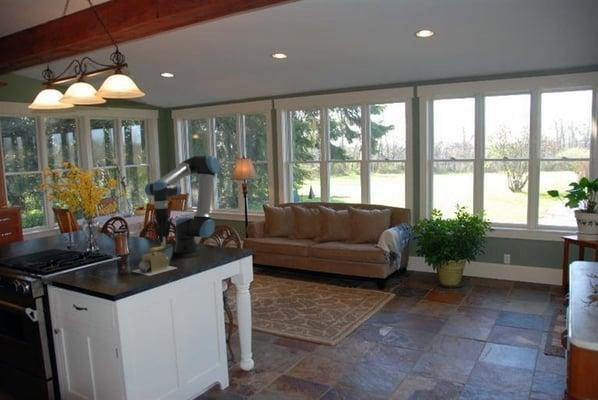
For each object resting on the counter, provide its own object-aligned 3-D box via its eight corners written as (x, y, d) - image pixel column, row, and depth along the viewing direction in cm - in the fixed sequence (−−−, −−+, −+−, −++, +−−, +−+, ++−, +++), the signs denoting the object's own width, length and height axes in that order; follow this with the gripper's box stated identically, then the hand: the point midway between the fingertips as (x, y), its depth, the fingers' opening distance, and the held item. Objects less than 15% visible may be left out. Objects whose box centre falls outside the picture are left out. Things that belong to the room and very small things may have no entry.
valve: (136, 272, 269) (134, 253, 268) (163, 265, 283) (162, 247, 282) (145, 274, 263) (143, 255, 262) (172, 267, 277) (171, 249, 276)
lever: (168, 246, 282) (168, 244, 282) (173, 247, 280) (173, 244, 279) (147, 251, 271) (147, 248, 271) (152, 251, 269) (152, 249, 269)
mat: (131, 272, 272) (131, 271, 272) (160, 264, 286) (160, 263, 286) (149, 276, 260) (149, 275, 260) (178, 268, 275) (178, 267, 275)
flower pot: (174, 260, 296) (173, 246, 294) (165, 264, 287) (164, 249, 286) (162, 260, 298) (161, 246, 297) (153, 263, 290) (152, 249, 289)
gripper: (155, 209, 270) (157, 250, 273) (174, 207, 280) (176, 246, 283) (147, 208, 275) (150, 248, 278) (166, 206, 285) (169, 245, 288)
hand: (163, 247), depth 280 cm, fingers closed
